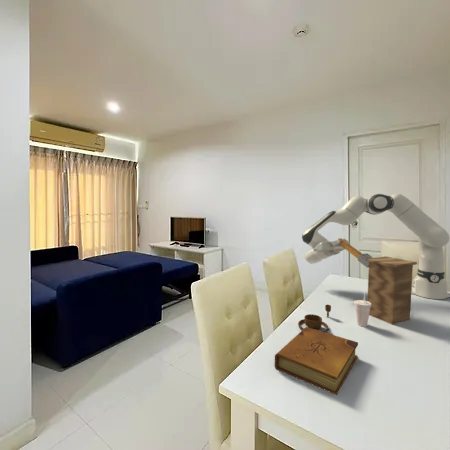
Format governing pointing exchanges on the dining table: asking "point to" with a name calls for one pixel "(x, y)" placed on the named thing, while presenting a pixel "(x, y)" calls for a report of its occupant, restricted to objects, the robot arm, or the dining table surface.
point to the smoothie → (362, 311)
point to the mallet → (355, 253)
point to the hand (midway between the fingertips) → (342, 240)
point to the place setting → (315, 320)
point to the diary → (318, 358)
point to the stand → (390, 288)
